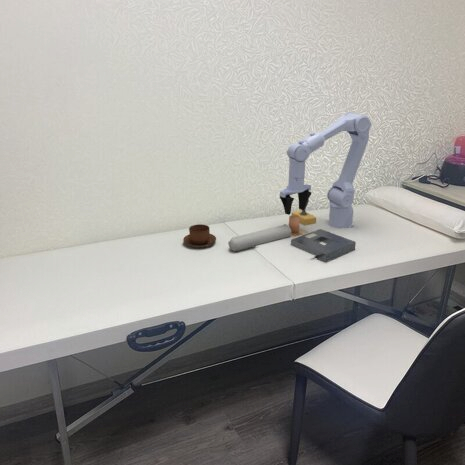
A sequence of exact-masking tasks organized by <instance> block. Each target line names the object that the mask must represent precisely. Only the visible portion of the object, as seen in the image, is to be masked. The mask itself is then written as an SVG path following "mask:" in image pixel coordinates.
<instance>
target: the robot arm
mask: <svg viewBox="0 0 465 465" xmlns="http://www.w3.org/2000/svg"><path fill="white" fill-rule="evenodd" d="M371 127H372V122H371V119H370V118H369V117H368V115H366V114H364V115H363V114H358V113H353V112H346V113H344V115H340V116H339V118H338V119H337V120H336V121H334V122H333V123H332V124H330V125H329V126H327V127H326V128H324V129H323V130H322V131H320V132H318V131H315V132H313V131H311V132H310V133H309V135H308V136H307V137H305V138H303V139H300V140H298V142H294V143H292V144H290V145H289V147H288V149H287V150H286V154H287V157H288V158H289V160H288V161H289V163H288V164H289V166H288V184H287V186H286V188H285V189H283V190H280V191H279V199H280V201H281V202H282V206H283V209H284V210H283V211H284V213H285V215H288V216H291V214H292V206H293V202H294V200H295V197H292V196H293V195H295V194H297V196H298V198H297V199H298V209H299V211H300V210H304V209H305V206H306V203H307V201H308V199H309V200H310V197H311V195H312V191H311V190H312V185H310V184H305V177H306V176H305V173H306V161H307V159H309V156H310V155H311V154H313V152H316V150H318V149H320V148H322V147H323V146H324V145H325V141H327V140H328V139H330V138H332V137H334V136H336V135H338V134H340V133H341V132H347V133H348V135H349V136H350V138H351V139H352V141H351V144H350V147H349V150H348V152H347V154H346V158H345V161H344V164H343V166H342V170H341V171H340V174H339V177H338V179H337V180H336V181H334V182H333V183H332V185H331V187H330V188H329V189H328V191H327V194H326V196H327V200H328V201H329V214H328V226H330V227H331V228H337V229H342V228H352V227H354V224H353V220H354V218H353V217H354V207H353V205H352V204H354V203H353V202H354V201H355V199H354V197H355V196H354V195H355V193H356V190H355V188H354V185H353V184H354V180H355V178H356V175H357V172H358V170H359V167H360V164H361V162H362V159H363V156H364V153H365V151H366V148H367V145H368V142H369V140H370V130H371Z"/></svg>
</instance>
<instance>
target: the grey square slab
mask: <svg viewBox="0 0 465 465" xmlns="http://www.w3.org/2000/svg"><path fill="white" fill-rule="evenodd" d="M322 243H323V244H322ZM356 244H357V242H356V241H355V240H352V239H349V238H347V237H344V236H340V235H338V234H335V233H334V232H330V231H327V230H325V229H322V228H319V229H316V230H314V231H311V232H308V233H305V234H302V235H299V236H297V237H293V238H292V239H290V246H293V247H295V248H297V249H299V250H302V251H304V252H306V253H309V254H311V255H314V256H313V258H315V259H316V258H317V259H316V260H318V261H320V262H321V261H322V262H324V263H328V262H331V261H332V260H334V259H337V258H339V257H341V256H343V255H346V254H348V253H350V252H353V251H355V250H356Z"/></svg>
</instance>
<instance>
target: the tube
mask: <svg viewBox="0 0 465 465" xmlns="http://www.w3.org/2000/svg"><path fill="white" fill-rule="evenodd" d="M290 237H292V236H291V229H290V227H289V224H286V223H284V224H282V225H277V226H275V227H270V228H266V229H262V230H257V231H254V232H250V233H245V234H242V235H237V236H234V237H231V238H230V239H229V241H228V243H227V244H228V246H229V250H231V251H233V252H235V251H237V252H240V251H239V250H241V251H244V250H243V249H245V250H247V249H248V250H249V249H252V248H256V247H257V246H258V245H262V244H266V243H270V242H274V241H278V240H282V239H285V238H290Z"/></svg>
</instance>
